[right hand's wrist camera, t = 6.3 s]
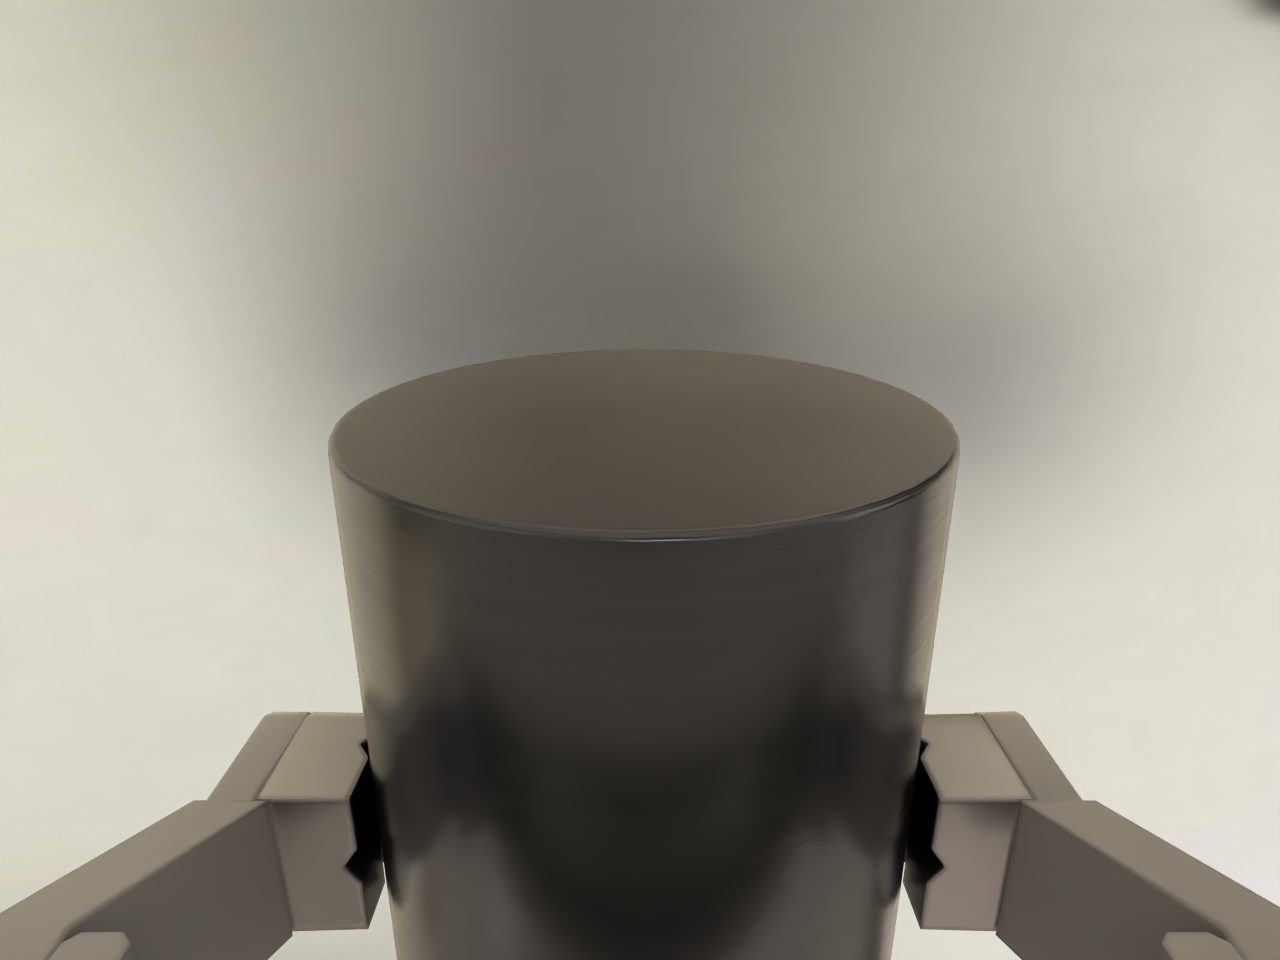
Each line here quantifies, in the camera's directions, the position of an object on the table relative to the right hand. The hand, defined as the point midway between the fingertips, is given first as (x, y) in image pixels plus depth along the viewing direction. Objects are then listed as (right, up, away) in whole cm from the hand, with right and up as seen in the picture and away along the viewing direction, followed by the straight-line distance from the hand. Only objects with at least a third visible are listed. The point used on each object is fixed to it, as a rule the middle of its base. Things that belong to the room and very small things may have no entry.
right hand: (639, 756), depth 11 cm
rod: (0, -7, +5) cm, 9 cm away
